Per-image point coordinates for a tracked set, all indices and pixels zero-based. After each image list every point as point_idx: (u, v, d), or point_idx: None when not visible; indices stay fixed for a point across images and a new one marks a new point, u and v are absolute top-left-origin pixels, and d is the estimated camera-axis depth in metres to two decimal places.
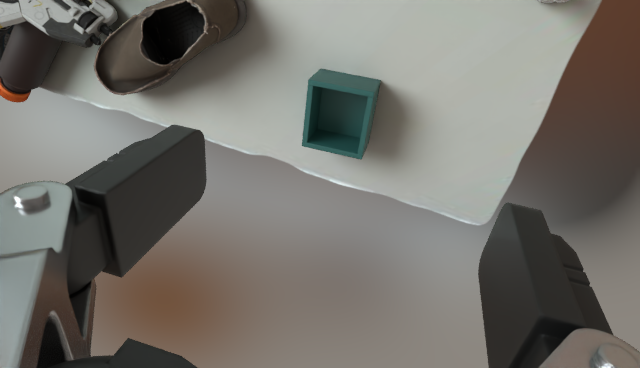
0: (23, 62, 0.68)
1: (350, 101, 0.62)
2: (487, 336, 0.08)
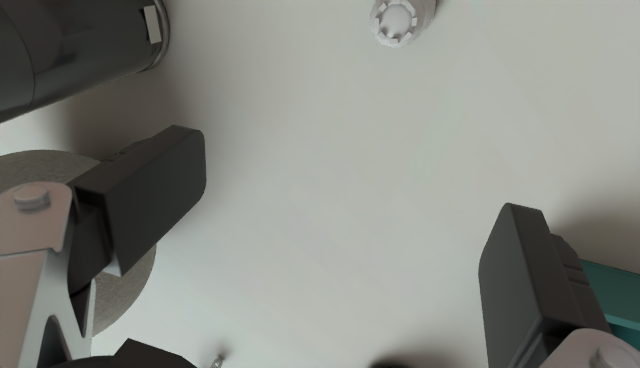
0: None
1: None
2: (487, 336, 0.08)
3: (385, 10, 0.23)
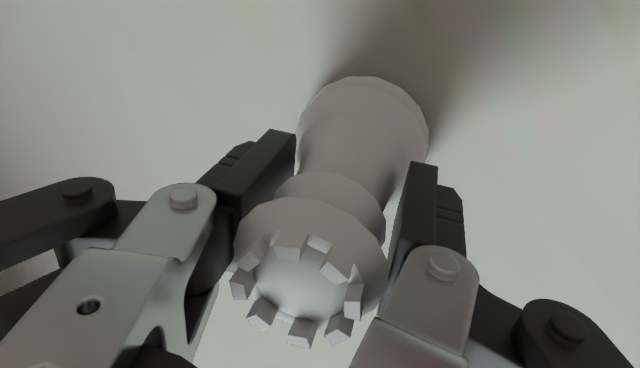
0: None
1: None
2: None
3: (264, 257, 0.07)
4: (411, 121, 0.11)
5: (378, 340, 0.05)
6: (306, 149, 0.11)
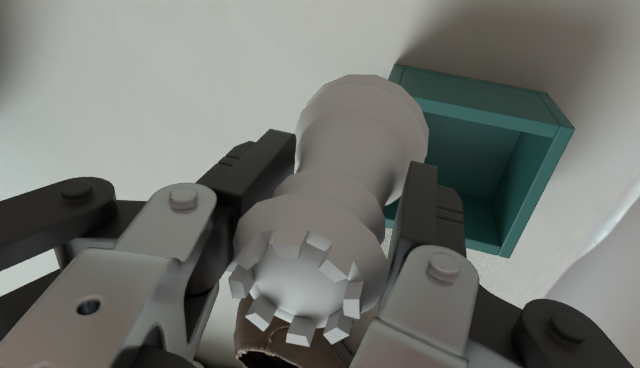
0: None
1: (435, 129, 0.29)
2: None
3: (263, 254, 0.07)
4: (411, 120, 0.11)
5: (378, 340, 0.05)
6: (306, 147, 0.11)
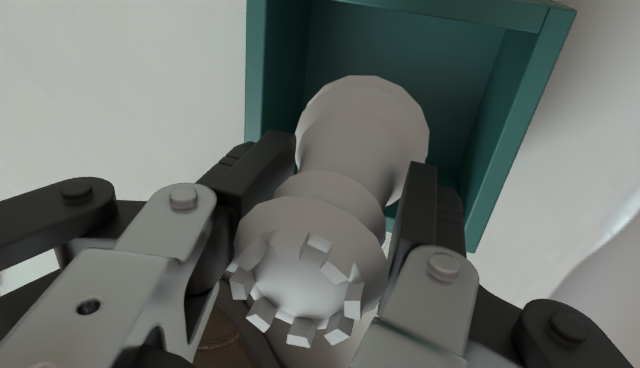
0: None
1: (369, 63, 0.20)
2: None
3: (264, 256, 0.07)
4: (411, 120, 0.11)
5: (378, 340, 0.05)
6: (306, 148, 0.11)
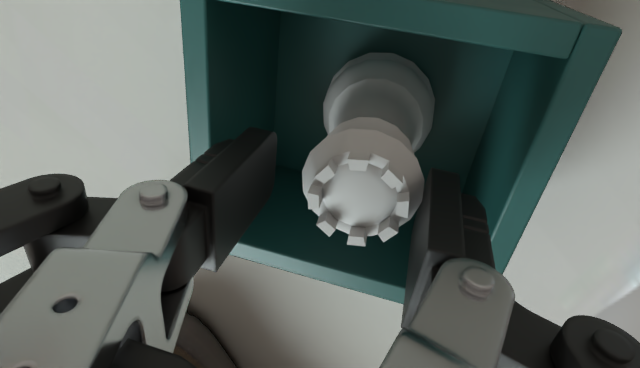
0: None
1: None
2: (406, 283, 0.09)
3: (333, 174, 0.10)
4: (424, 88, 0.14)
5: (406, 352, 0.05)
6: (341, 109, 0.14)
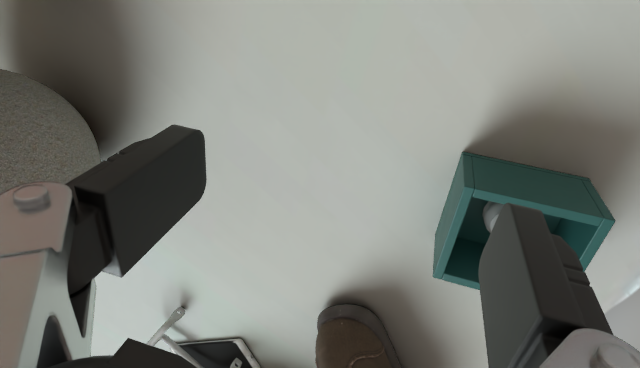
0: None
1: None
2: (487, 336, 0.08)
3: None
4: None
5: None
6: None
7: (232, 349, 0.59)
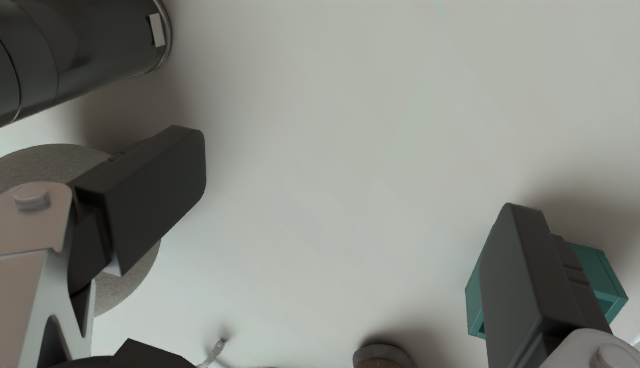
0: None
1: None
2: (487, 336, 0.08)
3: None
4: None
5: None
6: None
7: None
